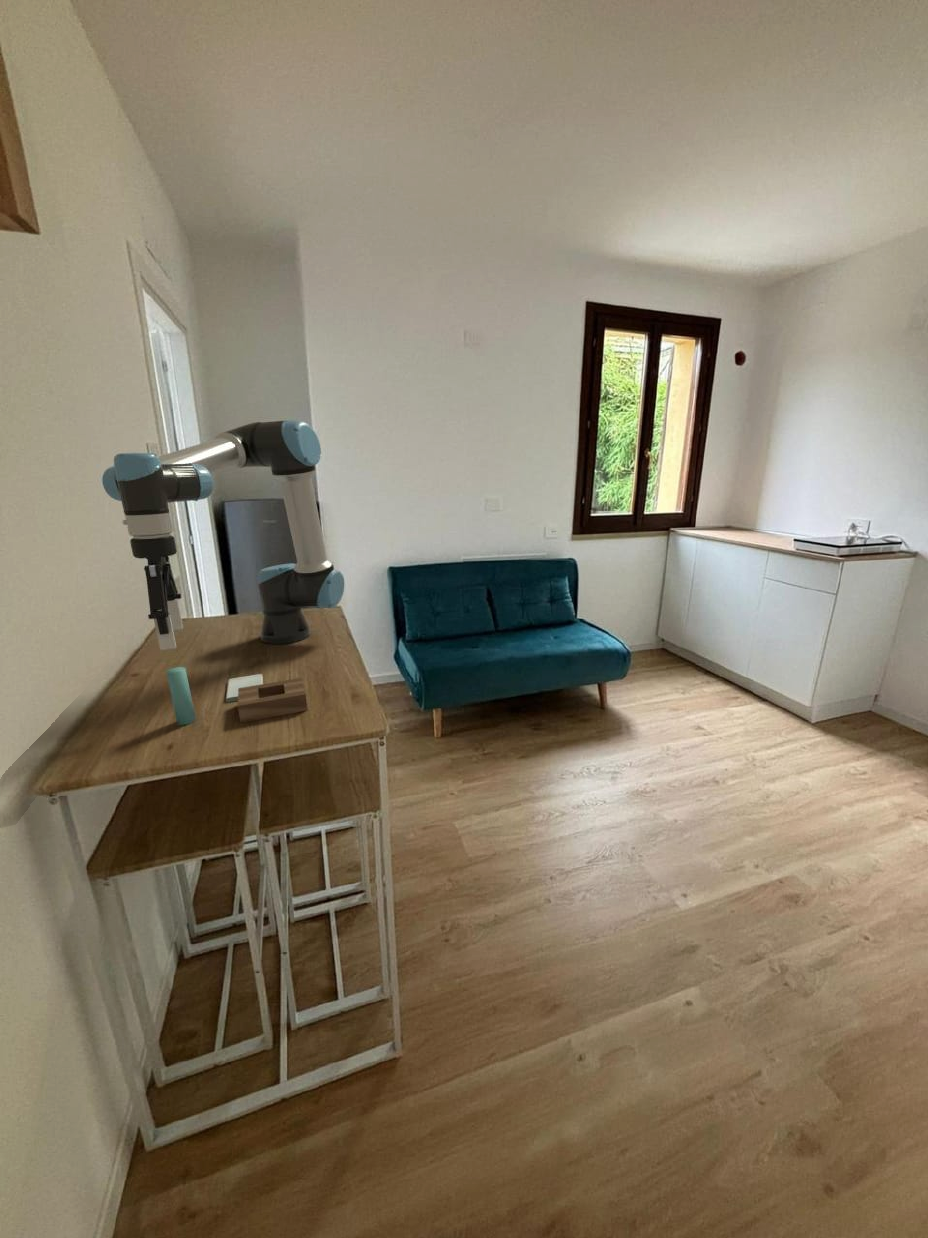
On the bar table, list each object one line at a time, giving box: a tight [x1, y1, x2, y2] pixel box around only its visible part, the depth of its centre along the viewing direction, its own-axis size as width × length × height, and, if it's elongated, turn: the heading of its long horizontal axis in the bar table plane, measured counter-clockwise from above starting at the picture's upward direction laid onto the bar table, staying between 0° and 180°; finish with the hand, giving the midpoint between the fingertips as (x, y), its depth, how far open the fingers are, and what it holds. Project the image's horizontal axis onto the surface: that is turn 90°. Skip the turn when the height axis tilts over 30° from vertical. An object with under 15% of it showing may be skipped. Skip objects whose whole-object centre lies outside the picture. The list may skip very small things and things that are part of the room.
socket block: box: [237, 677, 308, 724], centre depth 116 cm, size 10×14×4 cm
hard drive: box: [225, 673, 264, 703], centre depth 127 cm, size 2×8×12 cm
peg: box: [166, 666, 197, 726], centre depth 110 cm, size 4×4×12 cm
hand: (172, 638), depth 106 cm, fingers open, 13 cm apart
